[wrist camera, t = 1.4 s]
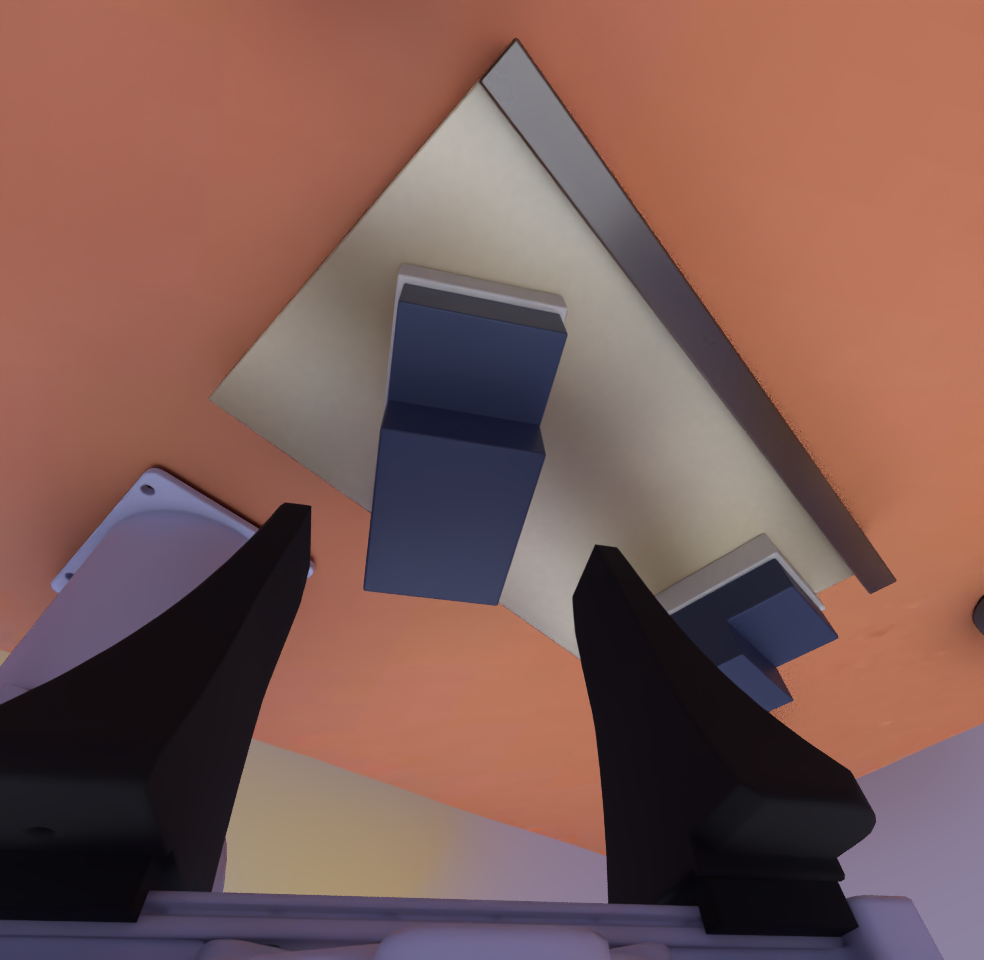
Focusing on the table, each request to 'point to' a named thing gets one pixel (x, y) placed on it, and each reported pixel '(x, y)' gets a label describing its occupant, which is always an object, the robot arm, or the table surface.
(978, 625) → the bottle
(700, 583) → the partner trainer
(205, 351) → the table surface
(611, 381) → the shoe shelf
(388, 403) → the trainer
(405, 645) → the table surface
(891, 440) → the table surface
